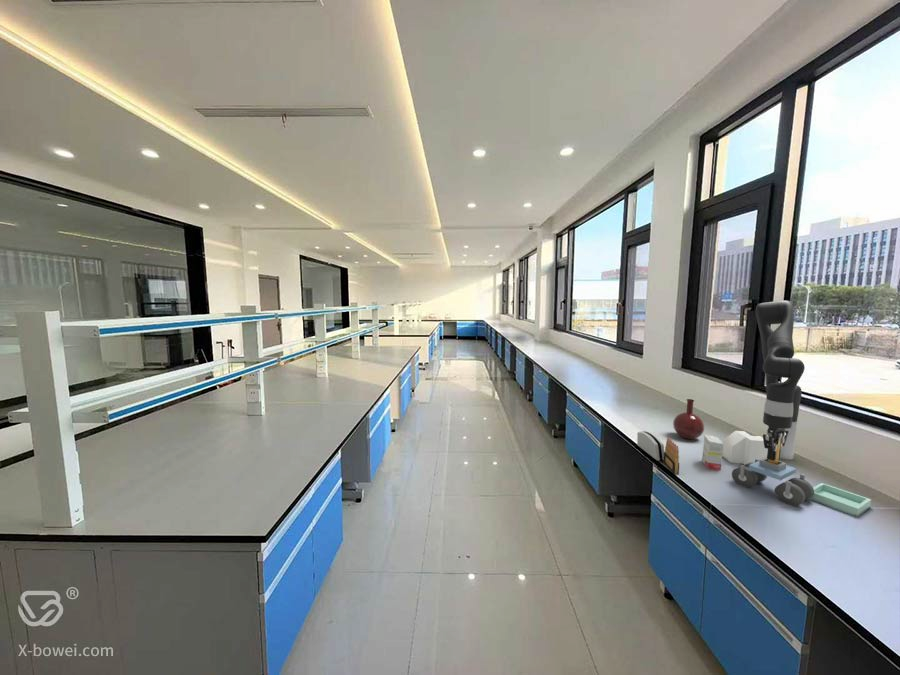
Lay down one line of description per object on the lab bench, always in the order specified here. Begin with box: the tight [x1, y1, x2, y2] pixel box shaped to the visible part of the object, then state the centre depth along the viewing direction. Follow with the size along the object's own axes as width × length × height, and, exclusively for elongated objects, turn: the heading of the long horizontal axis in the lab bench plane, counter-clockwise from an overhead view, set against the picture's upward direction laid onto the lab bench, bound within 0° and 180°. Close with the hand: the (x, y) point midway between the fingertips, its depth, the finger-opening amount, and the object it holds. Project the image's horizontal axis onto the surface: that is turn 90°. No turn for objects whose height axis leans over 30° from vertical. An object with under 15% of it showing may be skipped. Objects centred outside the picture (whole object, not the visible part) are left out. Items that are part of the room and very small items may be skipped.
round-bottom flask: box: [672, 398, 705, 440], centre depth 176 cm, size 13×13×20 cm
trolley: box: [731, 457, 814, 507], centre depth 126 cm, size 12×20×12 cm, turn 27°
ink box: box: [701, 434, 723, 471], centre depth 147 cm, size 9×5×12 cm, turn 156°
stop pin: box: [768, 439, 781, 465], centre depth 125 cm, size 3×3×11 cm
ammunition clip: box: [662, 436, 680, 475], centre depth 144 cm, size 11×2×12 cm, turn 168°
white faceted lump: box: [722, 430, 768, 465], centre depth 150 cm, size 11×11×12 cm
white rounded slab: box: [636, 430, 665, 461], centre depth 157 cm, size 17×5×10 cm, turn 179°
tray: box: [808, 482, 872, 518], centre depth 120 cm, size 12×12×3 cm
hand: (773, 458), depth 126 cm, fingers closed on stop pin, 2 cm apart
